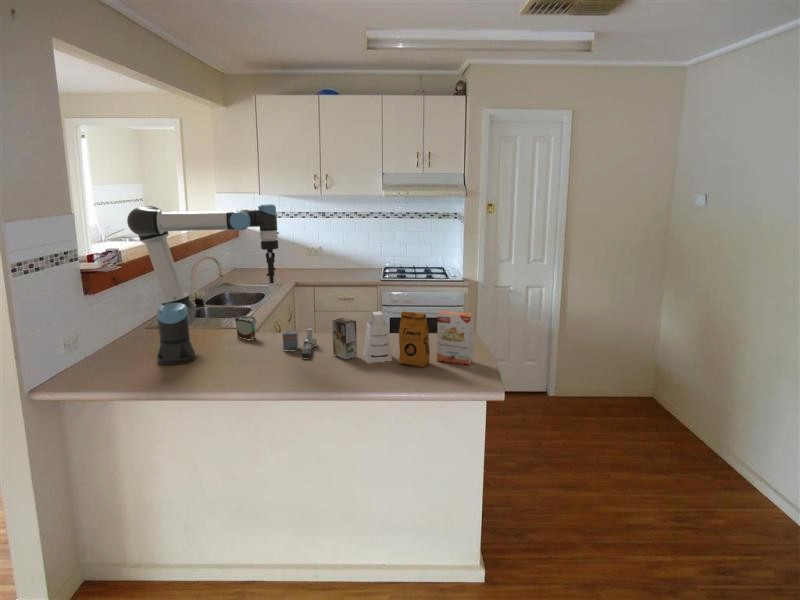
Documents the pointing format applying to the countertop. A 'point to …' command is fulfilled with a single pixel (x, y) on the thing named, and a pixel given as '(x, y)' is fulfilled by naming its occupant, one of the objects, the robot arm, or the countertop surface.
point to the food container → (245, 327)
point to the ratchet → (308, 344)
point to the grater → (377, 339)
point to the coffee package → (414, 339)
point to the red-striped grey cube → (290, 340)
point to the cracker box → (455, 337)
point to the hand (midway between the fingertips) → (272, 287)
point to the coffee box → (344, 338)
